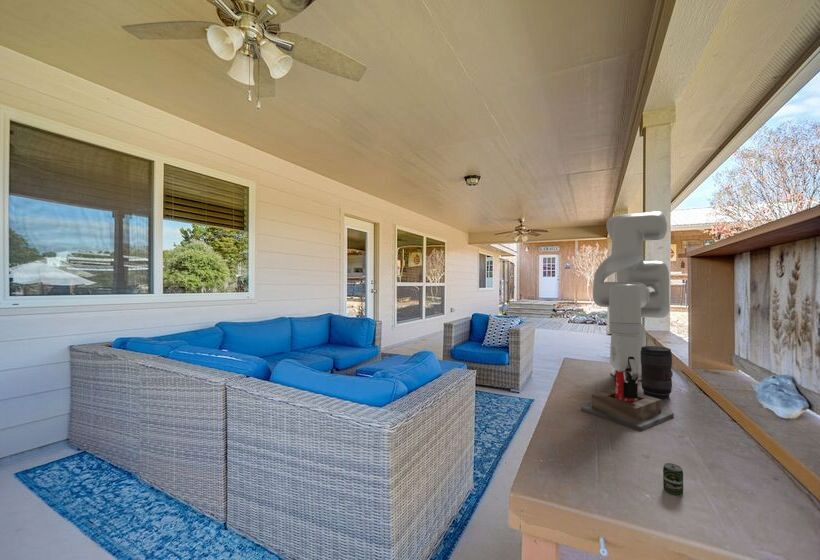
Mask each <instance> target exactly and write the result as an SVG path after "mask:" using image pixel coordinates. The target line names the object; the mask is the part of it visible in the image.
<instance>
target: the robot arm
mask: <svg viewBox="0 0 820 560" xmlns="http://www.w3.org/2000/svg"><path fill="white" fill-rule="evenodd" d="M606 231H607V233H608V236H609V238H610V240H611V254H610V255H609V256H608V257H606V258H605V259H604V260H603V261H602V262H601V263H600V264H599V265H598V267H597V269H596V270H595V272H594V276H593V286H592V299H593V302H594V304H596V305H597V306H598V307H602V308H608V321H609V323H608V324H609V325H608V326H609V327H608V328H609V330H608V331H609V334H610V335H611V336H610V351H609V364H610V365H611V366H612V367H613V369H611V370H610V373H611V375H612V376H614V388H616V370H617V371H618V372H622V371H623V375H624V381H625V382H623V396H624V398H634V399H636V398H637V397H638V395H637V383H638V384H639V381H641V353H640V352H641V347H644V346H647V344H646V341H647V340H646V328H645V326H644V325H643V324H642V318H651V319H652V318H653V319H654V318H657V319H659V318H666V317H667V316H668V315H669V312H670V308H671V307H670V304H671V303H670V273H669V268H668V265H667V264H666V262H664V261H659V260H648V261H646V260H644V241H661V240H662V239H664V238H665V237H666V234H667V231H668V223H667V219H666V216H665V213H664V212H661V211H649V212H647V211H646V212H638V213H637V212H636V213H634V212H633V213H625V214H617V215H615V216H611V217H609V218H608V219H607V220H606ZM615 273H616V274H615ZM612 274H615V275H616V281H605V280H606V279H607V278H609V276H611V275H612ZM650 288H651V289H653V290H654V291H653V290H650ZM626 369H629V370H630V371H626ZM627 374H631V375H629V376H628V378H627ZM637 375H638V378H637ZM637 379H638V381H637Z"/></svg>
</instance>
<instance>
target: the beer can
mask: <svg viewBox="0 0 820 560" xmlns="http://www.w3.org/2000/svg"><path fill="white" fill-rule="evenodd" d="M662 473H663V474H662V479H663V480H662V482H663V483H662V485H663V490H665V492H667V493H668V494H670V495H674V496H682V495H683V494H684V472H683V468H682V467H681V466H680V465H678V464H675V463H671V462H667V463H663V467H662Z"/></svg>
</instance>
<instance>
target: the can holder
mask: <svg viewBox="0 0 820 560" xmlns="http://www.w3.org/2000/svg"><path fill="white" fill-rule="evenodd" d="M637 395H638V397H637V401H636V402H633V403H629V402H626V401H622V400H619V399H616V398H615V387H614V388H610V389H607V390H603V391H601V392H597V393H593V394H591V402H590V403H588V404H584V405H581V406H580V411H582V412H585V413H588V414H590V415H595V416H597V417H599V418H603V419H604V420H605V419H606V420H608V421H611V422H613V423H617V424H620V425H622V426H625V427H629V428H631V429H634V430H637V431H639V432H642V431H644V430H646V429H649V428H651V427H654V426H657V425H658V424H660V423H663V422H665V421H668V420H669V419H672V418H674V415H675V414H674V413H673V412H670V411H666V410H663V409H662V399H657V398H654V397H650V396H646V395H644V393H643V394H642V393H639V392H638V393H637Z"/></svg>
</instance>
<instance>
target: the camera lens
mask: <svg viewBox="0 0 820 560" xmlns="http://www.w3.org/2000/svg"><path fill="white" fill-rule="evenodd" d="M640 353H641V380H640V383H641V389H642V391H643V395H646V396H650V397H654V398H657V399H661V400H668V399H670V394H671V393H672V388H673V382H672V381H673V379H672V378H673V377H674V376H673V375H674V374H673V371H672V367H673V354H672V350H671V348H668V347H664V346H656V345H646V346H644V347H641V352H640Z"/></svg>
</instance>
